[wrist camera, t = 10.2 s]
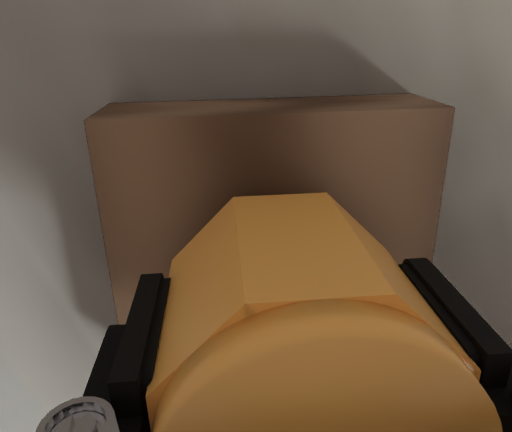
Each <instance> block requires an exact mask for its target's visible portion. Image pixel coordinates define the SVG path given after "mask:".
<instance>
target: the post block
mask: <svg viewBox="0 0 512 432" xmlns="http://www.w3.org/2000/svg"><path fill="white" fill-rule="evenodd" d="M454 111H455V107H452V106H449V105H445V104H442V103H439V102H436V101H433V100H430V99H427V98H424V97H420V96H417V95H414V94H383V95H352V96H321V97H291V98H260V99H229V100H199V101H168V102H137V103H109V104H108V105H106V106H105V107H103V108H102V109H100V110H99V111H97V112H96V113H94V114H93V115H91V116H90V117H88V118H87V119H85V120H84V124H85V130H86V136H87V142H88V148H89V154H90V160H91V166H92V172H93V178H94V184H95V190H96V196H97V202H98V208H99V214H100V220H101V226H102V232H103V238H104V244H105V249H106V255H107V261H108V267H109V273H110V279H111V285H112V291H113V297H114V303H115V309H116V315H117V321H118V325H121V324H126V321H127V318H128V314H129V311H130V308H131V305H132V302H133V298H134V295H135V292H136V289H137V285H138V282H139V279H140V276H141V274H152V273H163V276H164V278H169V273H170V267H171V262H172V259H173V258H174V257H175V256H176V255H177V254H178V253H179V252H180V251H181V250H182V249H183V248H184V247H185V246H186V245H187V244H188V243H189V242H190V241H191V240H192V239H193V238H194V237H195V236H196V235H197V234H198V233H199V232H200V231H201V230H202V229H203V228H204V227H205V226H206V225H207V223H208V222H209V221H210V220H211V219H212V218H213V217H214V216H215V215H216V214H217V213H218V212H219V211H220V210H221V209H222V208H223V207H224V206H225V205H226V204H227V203H228V202H229V201H230V200H231V199H232V198H233V197H241V196H262V195H283V194H304V193H325V192H327V193H328V194H329V195H330V196H331V197H332V198H333V199H334V200H335V201H336V202H337V203H338V204H339V205H340V206H341V207H343V208H344V209H345V210H346V211H347V212H348V213H349V214H350V215H351V216H352V217H353V218H354V219H355V220H356V221H357V222H358V223H359V224H360V225H362V226H363V227H364V228H365V229H366V230H367V231H368V232H369V233H370V234H371V235H372V236H373V237H374V238H375V239H376V240H377V241H378V242H379V243H380V244H382V245H383V246H384V247H385V248H386V249H387V251H388V252H389V253H390V255H391V256H392V257H393V258H394V260H395V261H396V262H397V264H402V263H403V260H404V259H409V258H427V259H428V260H429V261H430V262H431V263H432V259H433V253H434V246H435V239H436V232H437V226H438V219H439V212H440V206H441V199H442V192H443V185H444V179H445V172H446V165H447V158H448V152H449V145H450V138H451V131H452V125H453V118H454Z"/></svg>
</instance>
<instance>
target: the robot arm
mask: <svg viewBox="0 0 512 432" xmlns="http://www.w3.org/2000/svg"><path fill="white" fill-rule="evenodd" d="M398 266H399V267H400V268H401V270H402V271H403V272H404V274H405V275H406V276H407V277H408V279H409V280H410V281H411V283H412V284H413V285H414V286H415V288H416V289H417V290H418V292H419V293H420V294H421V295H422V297H423V298H424V299H425V301H426V302H427V303H428V304H429V306H430V307H431V308H432V310H433V311H434V312H435V313H436V315H437V316H438V317H439V319H440V320H441V321H442V322H443V324H444V325H445V326H446V328H447V329H448V330H449V331H450V333H451V334H452V335H453V337H454V338H455V339H456V341H457V342H458V343H459V344H460V346H461V347H462V348H463V350H464V351H465V352H466V353H467V355H468V356H469V357H470V358H471V359H472V360H473V361H474V362H475V363H476V365H477V366H478V367H479V369H480V370H481V375H480V379H479V383H480V384H481V386H482V387H483V388H484V390H485V391H486V393H487V394H488V396H489V397H490V399H491V400H492V402H493V403H494V405H495V408H496V410H497V413H498V415H499V418H500V420H501V425H502V431H503V432H512V349H511V348H510V347H509V346H508V345H507V344H506V343H505V342H504V341H503V339H502V338H501V337H500V336H499V335H498V334H497V333H496V332H495V331H494V330H493V329H492V328H491V326H490V325H489V324H488V323H487V322H486V321H485V320H484V319H483V318H482V317H481V316H480V315H479V314H478V312H477V311H476V310H475V309H474V308H473V307H472V306H471V305H470V304H469V303H468V302H467V301H466V299H465V298H464V297H463V296H462V295H461V294H460V293H459V292H458V291H457V290H456V289H455V288H454V287H453V285H452V284H451V283H450V282H449V281H448V280H447V279H446V278H445V277H444V276H443V275H442V274H441V273H440V271H439V270H438V269H437V268H436V267H435V266H434V265H433V264H432V263H431V262H430V261H429V260H428V259H427V258H409V259H404V260H403V263H402V264H398ZM170 280H171V278H164V276H163V273H152V274H141V276H140V279H139V282H138V285H137V289H136V292H135V295H134V298H133V302H132V305H131V308H130V311H129V314H128V318H127V321H126V324H121V325H110V326H109V327H108V329H107V331H106V334H105V337H104V339H103V342H102V345H101V348H100V350H99V353H98V356H97V359H96V361H95V364H94V367H93V369H92V372H91V375H90V378H89V380H88V383H87V386H86V389H85V391H84V394H83V397H79V398H74V399H71V400H69V401H66V402H64V403H62V404H60V405H58V406H57V407H55V408H54V409H52V410H51V411H50V412H49V413H48V414H47V415H46V416H45V417H44V418H43V419H42V420H41V422H40V423H39V425H38V427H37V429H36V432H151V429H150V422H149V416H148V409H147V402H146V392H147V387H148V386H149V384H150V383H151V381H152V378H153V372H154V367H155V361H156V356H157V351H158V345H159V340H160V334H161V329H162V323H163V318H164V312H165V307H166V302H167V296H168V291H169V285H170Z"/></svg>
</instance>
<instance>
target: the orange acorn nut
mask: <svg viewBox="0 0 512 432" xmlns="http://www.w3.org/2000/svg"><path fill="white" fill-rule="evenodd" d="M169 278H171V280H170V285H169V291H168V296H167V302H166V307H165V312H164V318H163V323H162V329H161V334H160V340H159V345H158V351H157V356H156V361H155V367H154V372H153V378H152V381H151V383H150V384H149V386H148V387H147V392H146V402H147V409H148V416H149V422H150V429H151V432H503V431H502V425H501V420H500V418H499V415H498V413H497V410H496V408H495V405H494V403H493V402H492V400H491V399H490V397H489V396H488V394H487V393H486V391H485V390H484V388H483V387H482V386H481V384H480V383H479V379H480V375H481V370H480V369H479V367H478V366H477V365H476V363H475V362H474V361H473V360H472V359H471V358H470V357H469V356H468V355H467V353H466V352H465V351H464V350H463V348H462V347H461V346H460V344H459V343H458V342H457V341H456V339H455V338H454V337H453V335H452V334H451V333H450V331H449V330H448V329H447V328H446V326H445V325H444V324H443V322H442V321H441V320H440V319H439V317H438V316H437V315H436V313H435V312H434V311H433V310H432V308H431V307H430V306H429V304H428V303H427V302H426V301H425V299H424V298H423V297H422V295H421V294H420V293H419V292H418V290H417V289H416V288H415V286H414V285H413V284H412V283H411V281H410V280H409V279H408V277H407V276H406V275H405V274H404V272H403V271H402V270H401V268H400V267H399V266H398V264H397V262H396V261H395V260H394V258H393V257H392V256H391V255H390V253H389V252H388V251H387V249H386V248H385V247H384V246H383V245H382V244H380V243H379V242H378V241H377V240H376V239H375V238H374V237H373V236H372V235H371V234H370V233H369V232H368V231H367V230H366V229H365V228H364V227H363V226H362V225H360V224H359V223H358V222H357V221H356V220H355V219H354V218H353V217H352V216H351V215H350V214H349V213H348V212H347V211H346V210H345V209H344V208H343V207H341V206H340V205H339V204H338V203H337V202H336V201H335V200H334V199H333V198H332V197H331V196H330V195H329V194H328V193H327V192H325V193H304V194H283V195H262V196H241V197H233V198H232V199H231V200H230V201H229V202H228V203H227V204H226V205H225V206H224V207H223V208H222V209H221V210H220V211H219V212H218V213H217V214H216V215H215V216H214V217H213V218H212V219H211V220H210V221H209V222H208V223H207V225H206V226H205V227H204V228H203V229H202V230H201V231H200V232H199V233H198V234H197V235H196V236H195V237H194V238H193V239H192V240H191V241H190V242H189V243H188V244H187V245H186V246H185V247H184V248H183V249H182V250H181V251H180V252H179V253H178V254H177V255H176V256H175V257H174V258H173V259H172V262H171V267H170V273H169Z"/></svg>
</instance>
